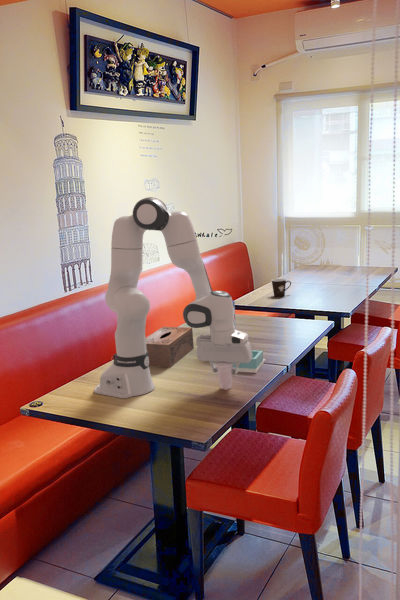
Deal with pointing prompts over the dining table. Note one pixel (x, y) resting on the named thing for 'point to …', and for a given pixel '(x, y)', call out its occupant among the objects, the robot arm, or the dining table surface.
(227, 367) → the smoothie
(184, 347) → the tissue box cover
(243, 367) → the holder board
